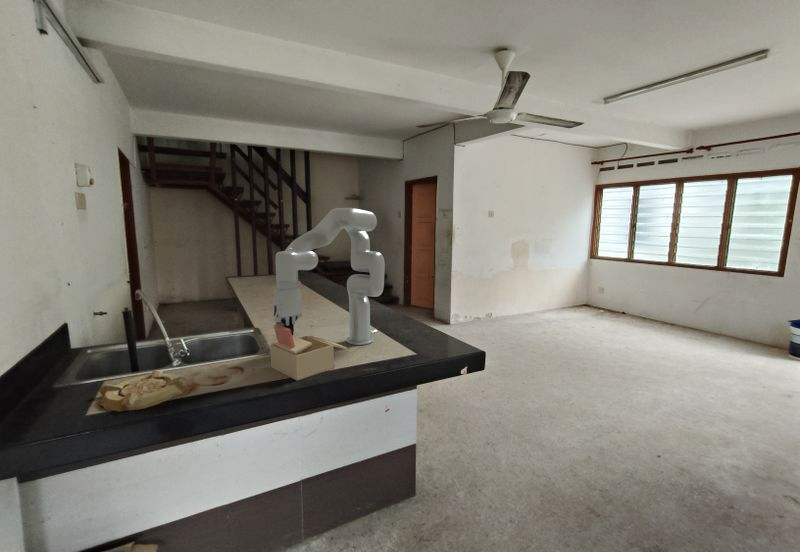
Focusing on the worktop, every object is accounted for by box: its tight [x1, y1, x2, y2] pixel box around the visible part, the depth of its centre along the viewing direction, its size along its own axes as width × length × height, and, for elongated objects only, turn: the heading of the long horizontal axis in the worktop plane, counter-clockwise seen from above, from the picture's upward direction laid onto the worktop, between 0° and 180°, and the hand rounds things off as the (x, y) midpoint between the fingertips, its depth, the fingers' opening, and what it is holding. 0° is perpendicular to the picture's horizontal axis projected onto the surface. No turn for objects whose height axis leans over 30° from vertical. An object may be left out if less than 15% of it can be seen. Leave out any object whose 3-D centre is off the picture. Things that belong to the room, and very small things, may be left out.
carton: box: [269, 335, 335, 381], centre depth 143 cm, size 16×18×9 cm
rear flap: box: [308, 335, 348, 350], centre depth 151 cm, size 7×17×1 cm, turn 47°
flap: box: [270, 323, 312, 354], centre depth 138 cm, size 7×17×8 cm, turn 47°
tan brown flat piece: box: [98, 369, 188, 412], centre depth 121 cm, size 24×24×5 cm
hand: (289, 334), depth 138 cm, fingers closed
